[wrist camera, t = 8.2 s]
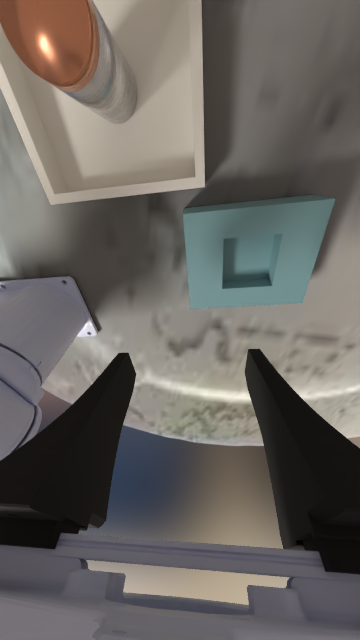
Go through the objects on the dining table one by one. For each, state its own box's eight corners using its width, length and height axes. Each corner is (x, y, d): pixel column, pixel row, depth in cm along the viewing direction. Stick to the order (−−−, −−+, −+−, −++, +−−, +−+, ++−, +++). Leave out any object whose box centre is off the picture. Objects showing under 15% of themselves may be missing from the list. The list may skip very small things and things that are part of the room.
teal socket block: (190, 293, 21) (190, 308, 18) (184, 207, 16) (182, 214, 14) (289, 287, 20) (302, 303, 17) (313, 194, 15) (336, 198, 13)
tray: (68, 201, 16) (50, 204, 14) (-32, -64, 10) (-91, -126, 8) (203, 185, 15) (204, 187, 13) (196, -129, 8) (197, -222, 6)
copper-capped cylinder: (104, 131, 13) (36, 97, 7) (78, 64, 11) (-34, -45, 6) (144, 113, 12) (104, 59, 7) (124, 38, 11) (48, -113, 5)
